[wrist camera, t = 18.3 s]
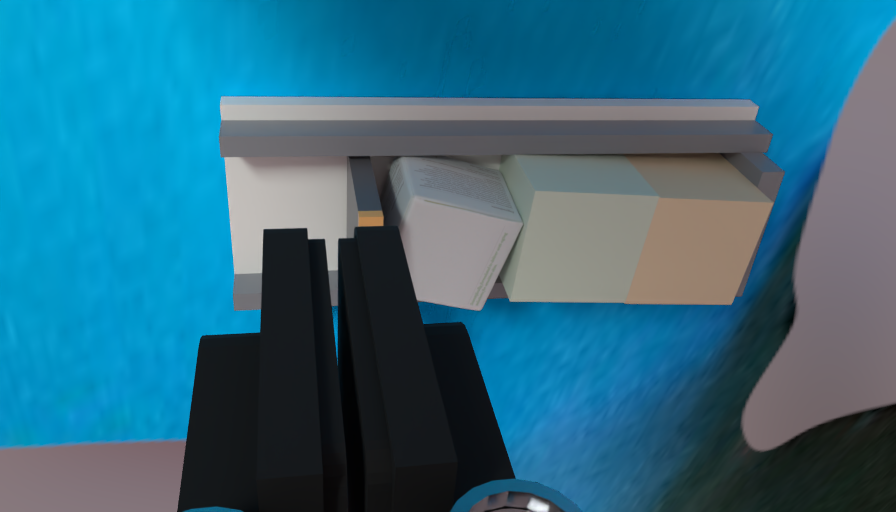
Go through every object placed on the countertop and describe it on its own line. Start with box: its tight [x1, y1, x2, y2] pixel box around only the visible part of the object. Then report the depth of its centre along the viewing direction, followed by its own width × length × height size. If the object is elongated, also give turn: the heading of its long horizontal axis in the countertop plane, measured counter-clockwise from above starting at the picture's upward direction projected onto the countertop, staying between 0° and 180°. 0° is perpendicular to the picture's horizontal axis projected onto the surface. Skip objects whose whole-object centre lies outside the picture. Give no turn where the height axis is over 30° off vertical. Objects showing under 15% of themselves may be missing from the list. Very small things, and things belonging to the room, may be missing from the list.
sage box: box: [499, 154, 659, 303], centre depth 38 cm, size 6×6×6 cm
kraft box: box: [624, 153, 773, 305], centre depth 40 cm, size 6×6×6 cm
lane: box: [219, 96, 785, 311], centre depth 39 cm, size 27×11×5 cm, turn 86°
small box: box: [380, 155, 524, 311], centre depth 38 cm, size 6×6×5 cm
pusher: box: [347, 156, 384, 238], centre depth 36 cm, size 1×7×6 cm, turn 177°
